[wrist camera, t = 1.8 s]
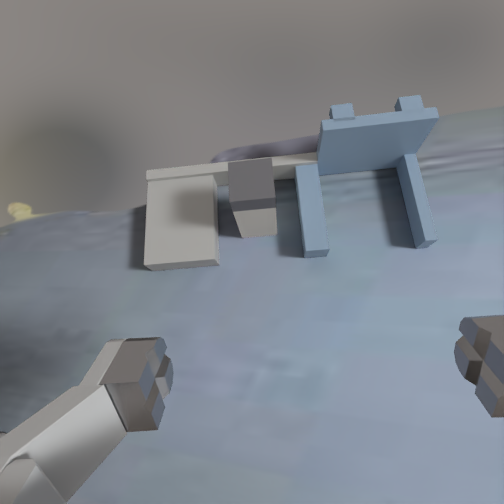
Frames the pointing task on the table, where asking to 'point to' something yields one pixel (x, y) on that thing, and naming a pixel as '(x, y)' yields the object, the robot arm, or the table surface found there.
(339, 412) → the table surface
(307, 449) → the table surface
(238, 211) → the upright grey square pillar
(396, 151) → the blue bracket
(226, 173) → the off-white flat angled piece
